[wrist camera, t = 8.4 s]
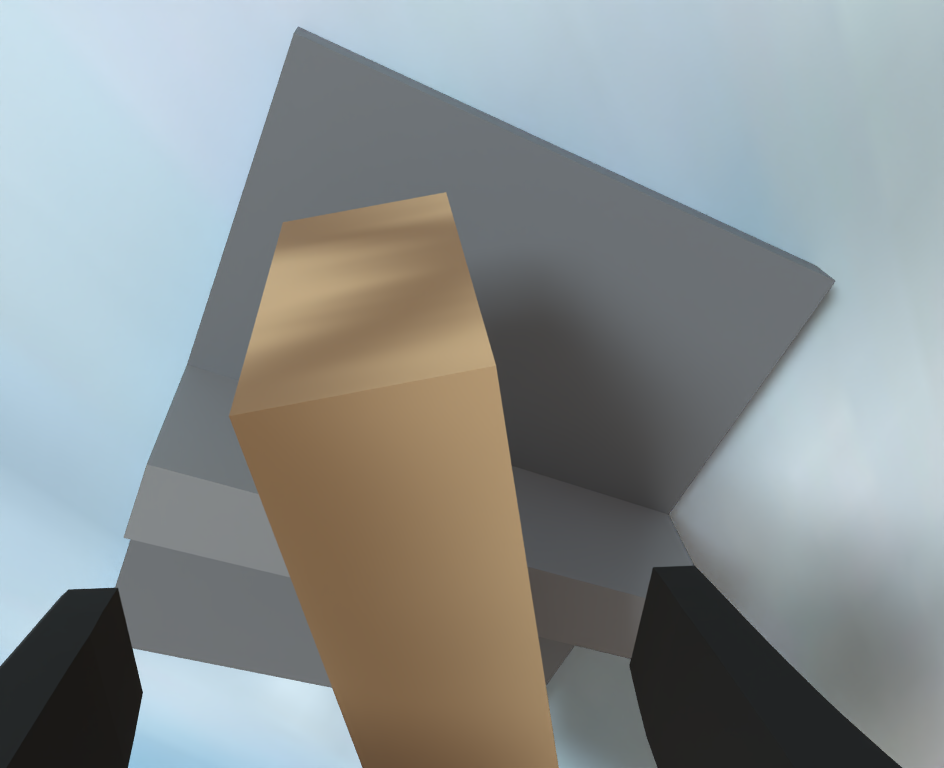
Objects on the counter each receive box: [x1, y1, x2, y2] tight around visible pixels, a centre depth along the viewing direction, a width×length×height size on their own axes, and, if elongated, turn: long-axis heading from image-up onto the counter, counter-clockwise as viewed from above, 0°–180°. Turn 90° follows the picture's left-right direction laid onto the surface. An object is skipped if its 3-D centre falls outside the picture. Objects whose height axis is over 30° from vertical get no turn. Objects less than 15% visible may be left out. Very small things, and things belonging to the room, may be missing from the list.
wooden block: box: [229, 192, 559, 768], centre depth 15 cm, size 3×18×6 cm, turn 9°
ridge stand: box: [115, 27, 835, 688], centre depth 20 cm, size 14×18×5 cm
